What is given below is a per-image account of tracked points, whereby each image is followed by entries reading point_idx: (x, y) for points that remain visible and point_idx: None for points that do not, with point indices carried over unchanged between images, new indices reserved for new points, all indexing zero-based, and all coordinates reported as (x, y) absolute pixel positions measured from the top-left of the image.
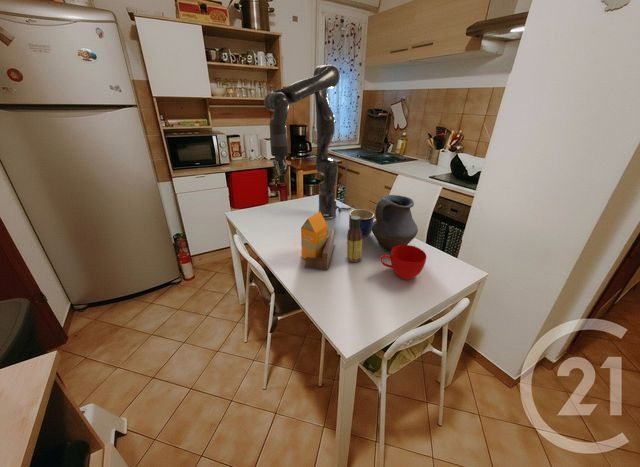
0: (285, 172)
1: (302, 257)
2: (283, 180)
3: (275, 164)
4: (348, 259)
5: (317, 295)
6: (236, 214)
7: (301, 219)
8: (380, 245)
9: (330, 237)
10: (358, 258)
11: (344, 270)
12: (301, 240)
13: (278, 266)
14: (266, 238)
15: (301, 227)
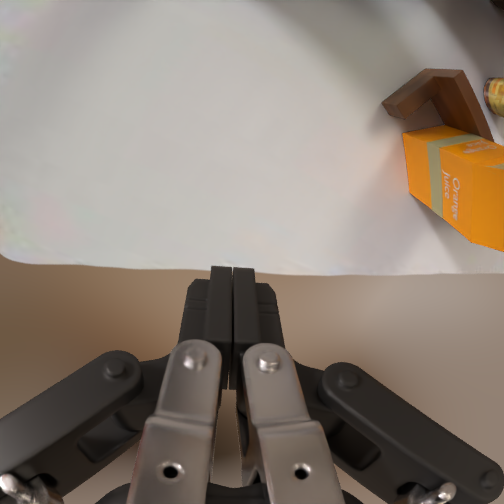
0: (377, 405)
1: (411, 192)
2: (273, 306)
3: (64, 488)
4: (494, 113)
5: None
6: (10, 243)
7: (150, 23)
8: (497, 5)
9: (482, 122)
10: None
11: None
12: (443, 218)
13: (393, 263)
14: (230, 224)
15: (472, 241)
